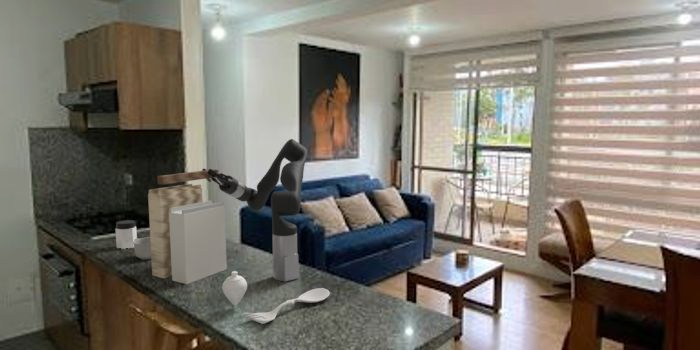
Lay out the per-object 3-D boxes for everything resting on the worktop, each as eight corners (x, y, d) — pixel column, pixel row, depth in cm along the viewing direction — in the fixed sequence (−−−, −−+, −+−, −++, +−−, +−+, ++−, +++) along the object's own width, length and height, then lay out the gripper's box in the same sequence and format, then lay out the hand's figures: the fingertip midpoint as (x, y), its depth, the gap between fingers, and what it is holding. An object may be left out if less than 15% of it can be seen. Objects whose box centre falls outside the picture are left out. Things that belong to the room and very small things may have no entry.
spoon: (241, 323, 138) (241, 312, 137) (315, 292, 162) (315, 283, 162) (261, 332, 132) (261, 320, 132) (335, 298, 157) (335, 289, 156)
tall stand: (193, 261, 196) (190, 183, 193) (204, 264, 193) (201, 184, 189) (152, 275, 179) (147, 189, 175) (164, 278, 176) (160, 191, 172)
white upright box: (212, 266, 191) (210, 200, 188) (226, 269, 187) (224, 202, 184) (172, 280, 174) (168, 208, 170) (186, 284, 170) (183, 210, 166)
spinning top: (221, 305, 150) (220, 269, 149) (245, 302, 153) (244, 266, 152) (224, 314, 143) (223, 277, 142) (249, 310, 146) (248, 273, 145)
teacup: (165, 257, 203) (164, 239, 202) (140, 262, 195) (139, 244, 194) (151, 251, 212) (150, 234, 211) (127, 256, 204) (126, 238, 203)
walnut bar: (213, 176, 198) (213, 169, 198) (218, 176, 197) (218, 169, 197) (157, 184, 174) (157, 176, 174) (162, 184, 173) (162, 176, 172)
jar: (117, 250, 214) (116, 224, 213) (115, 246, 221) (114, 221, 219) (138, 247, 219) (137, 222, 218) (135, 243, 226) (134, 219, 224)
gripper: (223, 178, 211) (197, 161, 197) (246, 180, 204) (221, 163, 190) (217, 193, 209) (190, 178, 195) (241, 195, 202) (214, 180, 188)
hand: (205, 170), depth 192 cm, fingers closed on walnut bar, 3 cm apart
